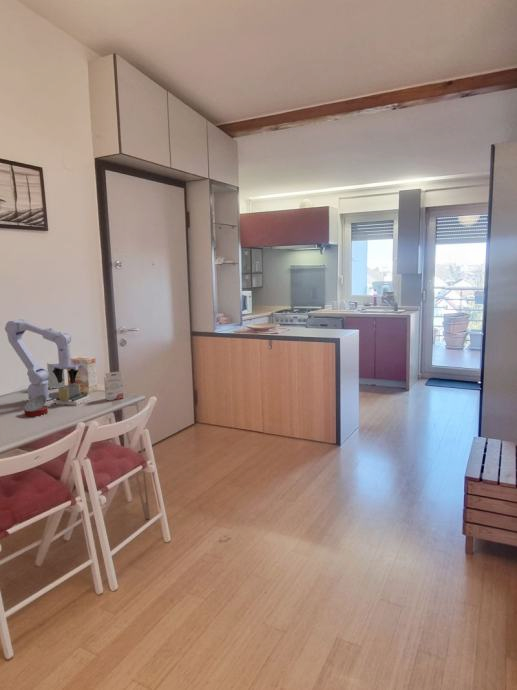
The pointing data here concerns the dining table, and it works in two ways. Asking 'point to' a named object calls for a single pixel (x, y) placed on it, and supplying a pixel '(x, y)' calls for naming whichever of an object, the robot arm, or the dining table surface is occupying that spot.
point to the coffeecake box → (85, 373)
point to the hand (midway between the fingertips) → (66, 382)
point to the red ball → (36, 407)
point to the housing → (69, 392)
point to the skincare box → (54, 377)
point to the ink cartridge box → (113, 386)
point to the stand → (73, 400)
